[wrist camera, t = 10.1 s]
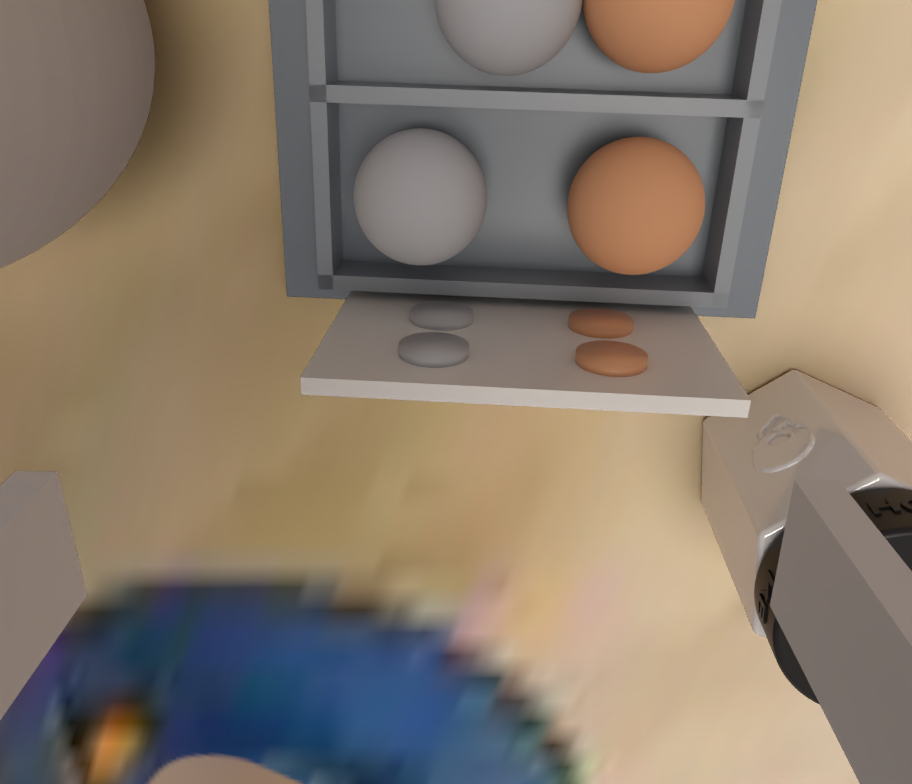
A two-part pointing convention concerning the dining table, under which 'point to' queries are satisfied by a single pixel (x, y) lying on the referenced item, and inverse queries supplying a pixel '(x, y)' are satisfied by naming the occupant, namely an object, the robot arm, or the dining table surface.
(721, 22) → the ball
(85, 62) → the vase
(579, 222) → the terracotta ball
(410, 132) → the grey ball
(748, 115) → the rack
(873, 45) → the dining table surface
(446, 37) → the grey ball
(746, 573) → the jar
